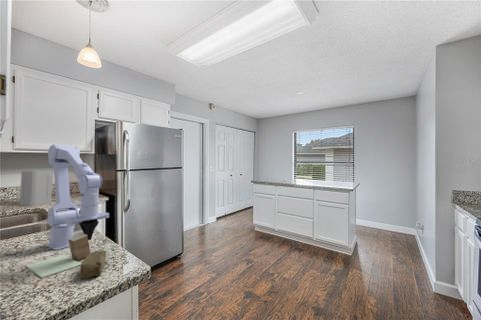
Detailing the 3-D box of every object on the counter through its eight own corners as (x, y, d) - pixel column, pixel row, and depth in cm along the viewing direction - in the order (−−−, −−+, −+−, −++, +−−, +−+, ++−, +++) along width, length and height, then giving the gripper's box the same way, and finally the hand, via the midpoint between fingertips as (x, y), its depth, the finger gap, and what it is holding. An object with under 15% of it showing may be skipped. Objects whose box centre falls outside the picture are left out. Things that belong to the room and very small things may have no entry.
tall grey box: (15, 207, 168) (17, 171, 168) (21, 204, 180) (22, 170, 181) (48, 205, 179) (50, 171, 179) (51, 202, 191) (52, 170, 192)
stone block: (106, 262, 80) (106, 249, 80) (100, 277, 70) (101, 262, 70) (87, 265, 78) (88, 251, 78) (79, 281, 67) (79, 265, 68)
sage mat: (26, 266, 75) (26, 265, 75) (64, 255, 85) (64, 254, 85) (41, 278, 68) (41, 277, 68) (81, 265, 77) (81, 264, 77)
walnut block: (72, 258, 83) (67, 238, 82) (85, 252, 87) (81, 232, 85) (77, 261, 81) (73, 240, 79) (91, 254, 84) (86, 234, 83)
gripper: (72, 209, 77) (70, 247, 77) (113, 203, 90) (112, 236, 90) (64, 206, 81) (62, 243, 81) (104, 201, 94) (103, 233, 93)
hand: (87, 239), depth 85 cm, fingers closed
